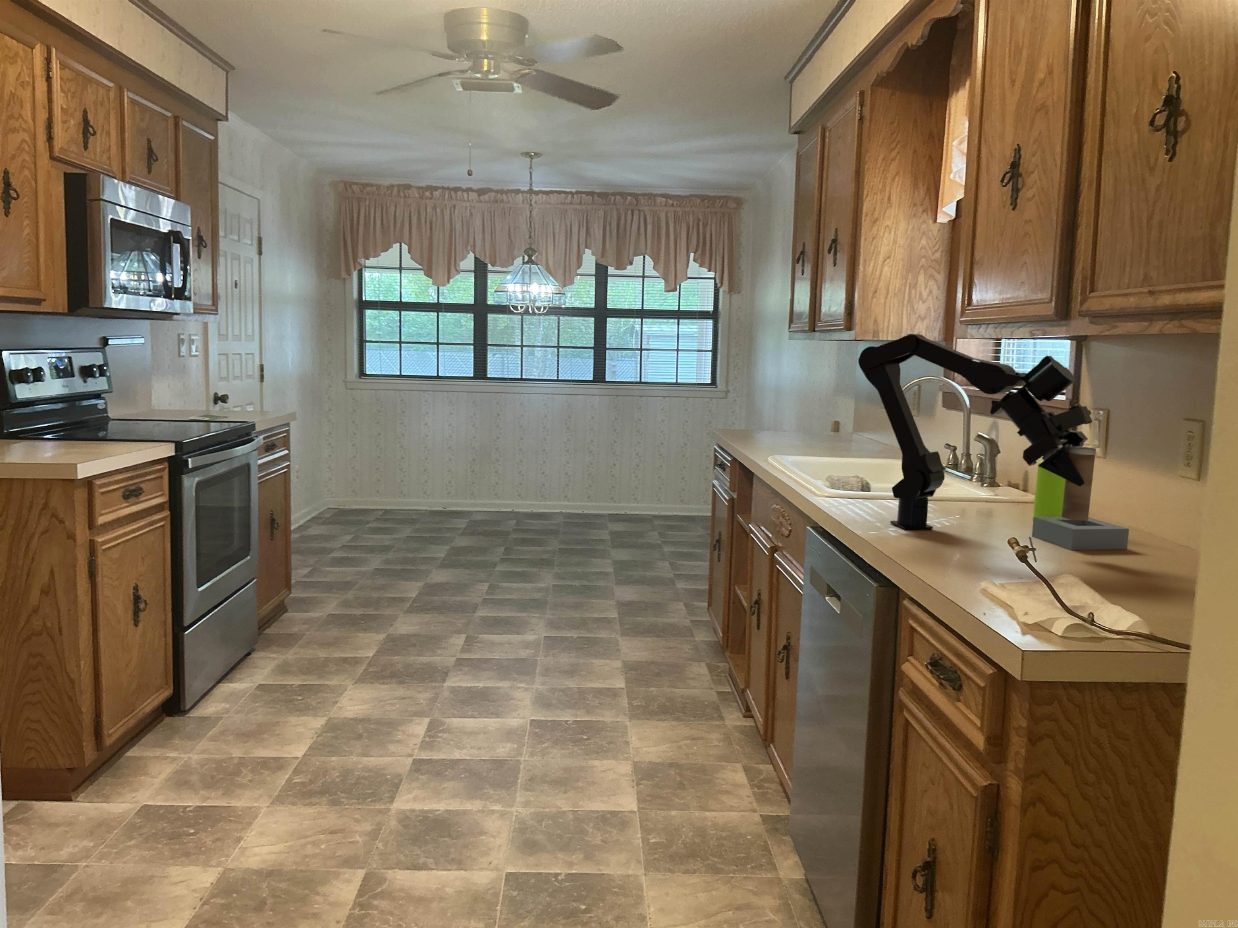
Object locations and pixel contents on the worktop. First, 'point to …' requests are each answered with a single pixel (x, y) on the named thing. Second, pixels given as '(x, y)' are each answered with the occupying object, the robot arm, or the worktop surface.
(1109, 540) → the socket block
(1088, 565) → the worktop surface
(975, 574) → the worktop surface
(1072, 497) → the peg
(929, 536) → the worktop surface
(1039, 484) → the soap dispenser
